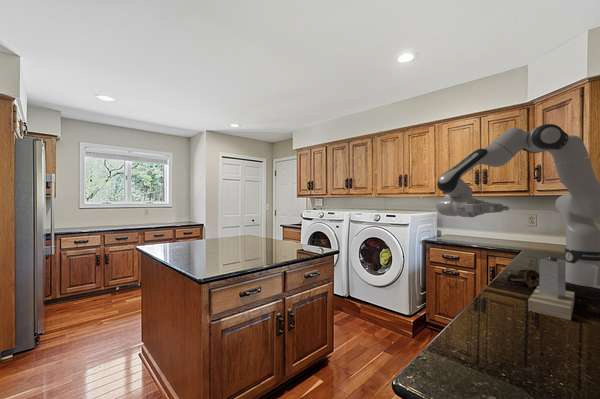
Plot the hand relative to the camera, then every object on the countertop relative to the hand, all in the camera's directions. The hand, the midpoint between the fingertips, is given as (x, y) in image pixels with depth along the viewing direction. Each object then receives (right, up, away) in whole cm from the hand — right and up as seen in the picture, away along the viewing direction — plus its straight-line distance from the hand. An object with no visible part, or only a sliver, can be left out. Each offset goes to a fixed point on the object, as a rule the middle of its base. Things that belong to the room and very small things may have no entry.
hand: (501, 208), depth 121 cm
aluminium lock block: (+1, -28, -23) cm, 37 cm away
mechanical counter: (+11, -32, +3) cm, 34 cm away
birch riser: (+1, -32, -24) cm, 40 cm away
